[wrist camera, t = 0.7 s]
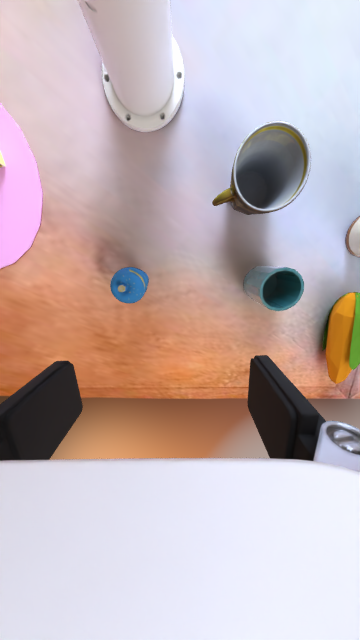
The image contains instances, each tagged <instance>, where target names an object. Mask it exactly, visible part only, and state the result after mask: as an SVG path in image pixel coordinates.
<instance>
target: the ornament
mask: <svg viewBox="0 0 360 640" xmlns="http://www.w3.org/2000/svg"><path fill="white" fill-rule="evenodd" d="M148 282H149V278H148V276H147V274H146V273H145V272H143V271H142V270H140V269H137V268H134V267H127V268H123V269H121V270H119V271H118V272H116V273H115V274H114V276H113V278H112V280H111V285H110V287H111V291H112V294H113V295H114V296H115V298H116V299H118V300H119V301H121V302H124V303H135V302H137V301H139V300H140V299H141V298H142V297H143V295H144V293H145V292H146V290H147V285H148Z"/></svg>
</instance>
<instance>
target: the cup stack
mask: <svg viewBox="0 0 360 640" xmlns="http://www.w3.org/2000/svg"><path fill="white" fill-rule="evenodd" d="M346 246H347V249H348V251H349V252H350V253H351V254H352V255H354V256H356V257H359V258H360V216H359V217H358V218H357V219H356V220H355V221H354V222H353V223H352V224H351V226H350V228H349V229H348V232H347V235H346Z"/></svg>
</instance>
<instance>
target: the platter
mask: <svg viewBox="0 0 360 640" xmlns="http://www.w3.org/2000/svg"><path fill="white" fill-rule="evenodd" d="M42 202H43V192H42V187H41V182H40V177H39V172H38V167H37V162H36V160H35V158H34V156H33V154H32V152H31V150H30V147H29V145H28V143H27V141H26V139H25V137H24V135H23V133H22V130H21V128H20V127H19V126H18V125H17V123H16V122H15V121H14V120H13V118H12V117H11V116H10V115H9V113H8V112H7V111H6V110H5V108H4V107H3V106H2V104H1V103H0V268H3V267H5V266H8V265H10V264H13V263H15V262H16V261H17V260H18V259H19V258H20V257H21V256H22V255H23V254H24V253H25V252H26V251H27V250H28V249H29V248H30V247H31V246H32V243H33V241H34V239H35V236H36V234H37V232H38V229H39V227H40V225H41V216H42Z"/></svg>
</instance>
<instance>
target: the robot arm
mask: <svg viewBox="0 0 360 640" xmlns="http://www.w3.org/2000/svg"><path fill="white" fill-rule="evenodd" d="M78 2H79V5H80V7H81V10H82V12H83V15H84V17H85V19H86V22H87V24H88V27H89V29H90V32H91V34H92V37H93V39H94V41H95V44H96V46H97V49H98V51H99V54H100V56H101V58H102V61H103V62H102V80H103V87H104V91H105V94H106V97H107V99H108V102H109V104H110V106H111V108H112V110H113V111H114V113H115V114H116V116H117V117H118V118H119V119H120V120H121V121H122V122H123V123H124V124H125V125H126V126H128V127H130V128H131V129H133V130H136V131H139V132H151V131H156V130H158V129H160V128H162V127H163V126H165V125H166V124H168V123H169V121H170V120H171V119H172V118H173V117H174V115H175V114H176V112H177V111H178V108H179V106H180V104H181V101H182V97H183V92H184V80H185V75H184V65H183V60H182V56H181V52H180V50H179V47H178V45H177V43H176V41H175V40H174V38H173V37H172V22H171V3H170V0H78ZM162 118H164V119H163V120H162ZM129 119H130V120H129ZM128 120H129V121H128ZM248 408H249V411H250V413H251V416H252V418H253V420H254V423H255V425H256V427H257V429H258V432H259V434H260V436H261V439H262V441H263V443H264V445H265V447H266V450H267V452H268V455H269V457H270V458H144V459H65V460H64V459H63V460H62V459H61V460H49V459H50V458H51V456H52V455H53V453H54V452H55V450H56V449H57V447H58V446H59V444H60V443H61V441H62V440H63V438H64V437H65V436H66V434H67V433H68V431H69V430H70V428H71V427H72V425H73V424H74V422H75V421H76V419H77V418H78V417H79V415H80V414H81V412H82V401H81V397H80V392H79V388H78V384H77V379H76V375H75V370H74V366H73V364H71V363H70V362H69V361H56V362H54V363H53V364H52V365H50V366H49V367H48V368H46V369H45V370H44V371H43V372H41V373H40V374H39V375H37V376H36V377H35V378H34V379H32V380H31V381H30V382H28V383H27V384H26V385H25V386H23V387H22V388H21V389H19V390H18V391H17V392H16V393H14V394H13V395H12V396H10V397H9V398H8V399H7V400H5V401H4V402H3V403H1V404H0V640H360V430H359V429H358V428H356V427H354V426H351V425H349V424H346V423H343V422H337V421H327V422H326V421H325V419H324V418H323V417H322V416H321V415H320V414H319V413H318V412H317V410H316V409H315V408H314V407H313V406H312V405H311V404H310V403H309V402H308V400H307V399H306V398H305V397H304V396H303V395H302V394H301V392H300V391H299V390H298V389H297V388H296V387H295V386H294V385H293V383H291V382H290V380H289V379H288V378H287V377H286V376H285V375H284V374H283V373H282V371H281V370H280V369H279V368H278V367H277V366H276V365H275V364H274V362H273V361H272V360H271V359H270V358H269V357H268V356H267V355H262V356H255V357H254V359H251V363H250V377H249V391H248Z"/></svg>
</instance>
